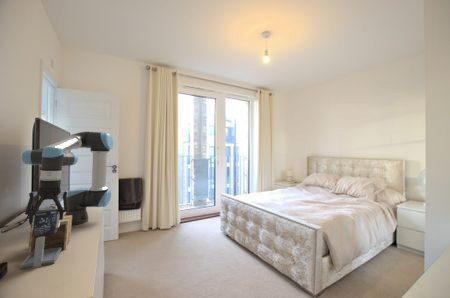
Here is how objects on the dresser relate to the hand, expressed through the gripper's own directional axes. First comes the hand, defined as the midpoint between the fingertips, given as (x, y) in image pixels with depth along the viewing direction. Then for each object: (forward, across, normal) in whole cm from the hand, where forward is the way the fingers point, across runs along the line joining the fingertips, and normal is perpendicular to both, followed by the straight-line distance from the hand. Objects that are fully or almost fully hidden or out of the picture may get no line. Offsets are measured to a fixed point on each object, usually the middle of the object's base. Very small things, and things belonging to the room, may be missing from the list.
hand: (46, 227), depth 92 cm
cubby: (+14, 0, +11) cm, 18 cm away
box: (+3, 0, -1) cm, 3 cm away
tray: (+14, 0, -1) cm, 14 cm away
